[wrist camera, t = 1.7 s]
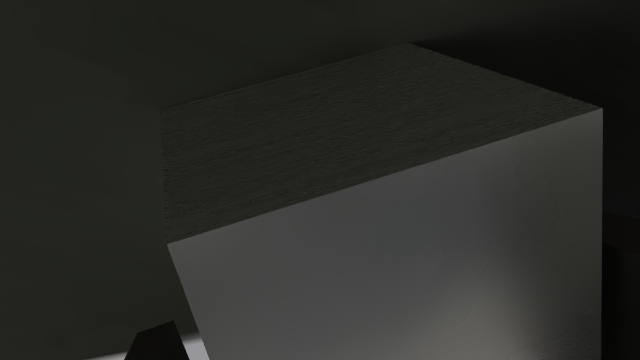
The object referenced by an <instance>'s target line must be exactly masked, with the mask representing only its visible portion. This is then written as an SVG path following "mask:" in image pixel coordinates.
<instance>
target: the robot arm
mask: <svg viewBox="0 0 640 360" xmlns="http://www.w3.org/2000/svg"><path fill="white" fill-rule="evenodd" d="M124 360H189V357H188V355H187V353H186V350H185V348H184V345H183V343H182V340H181V338H180V335H179V333H178V330H177V328H176V325H175V323H174V321H171V322H168V323H165V324H162V325H159V326H156V327H153V328H150V329H148V330H145V331H142V332H139V333H137V335H136V337H135V338H134V340H133V342H132V344H131V346H130V348H129V350H128V352H127V355H126V357H125V359H124ZM601 360H640V220H636V219H632V218H627V217H623V216H619V215H615V214H611V213H606V212H602V295H601Z"/></svg>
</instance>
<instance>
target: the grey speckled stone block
mask: <svg viewBox="0 0 640 360" xmlns="http://www.w3.org/2000/svg"><path fill="white" fill-rule="evenodd" d="M160 124H161V142H162V161H163V179H164V198H165V216H166V235H167V246H168V248H169V251H170V254H171V256H172V259H173V262H174V265H175V267H176V270H177V273H178V275H179V278H180V281H181V283H182V286H183V289H184V292H185V294H186V297H187V300H188V302H189V305H190V308H191V310H192V313H193V316H194V319H195V321H196V324H197V327H198V329H199V332H200V335H201V337H202V340H203V343H204V346H205V348H206V351H207V354H208V356H209V359H210V360H601V295H602V159H603V108H601V107H598V106H595V105H592V104H589V103H586V102H583V101H580V100H577V99H574V98H571V97H568V96H565V95H562V94H559V93H556V92H553V91H550V90H547V89H544V88H541V87H538V86H535V85H532V84H529V83H526V82H523V81H520V80H517V79H514V78H511V77H508V76H506V75H503V74H500V73H497V72H494V71H491V70H488V69H485V68H482V67H479V66H476V65H473V64H470V63H467V62H464V61H461V60H458V59H455V58H452V57H449V56H446V55H443V54H440V53H437V52H434V51H431V50H428V49H425V48H422V47H419V46H416V45H413V44H410V43H406V44H402V45H398V46H395V47H391V48H387V49H383V50H380V51H376V52H372V53H369V54H365V55H361V56H358V57H354V58H350V59H347V60H343V61H339V62H336V63H332V64H328V65H324V66H321V67H317V68H313V69H310V70H306V71H302V72H299V73H295V74H291V75H288V76H284V77H280V78H277V79H273V80H269V81H265V82H262V83H258V84H254V85H251V86H247V87H243V88H240V89H236V90H232V91H229V92H225V93H221V94H217V95H214V96H210V97H206V98H203V99H199V100H195V101H192V102H188V103H184V104H181V105H177V106H173V107H170V108H166V109H162V110H160Z"/></svg>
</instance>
